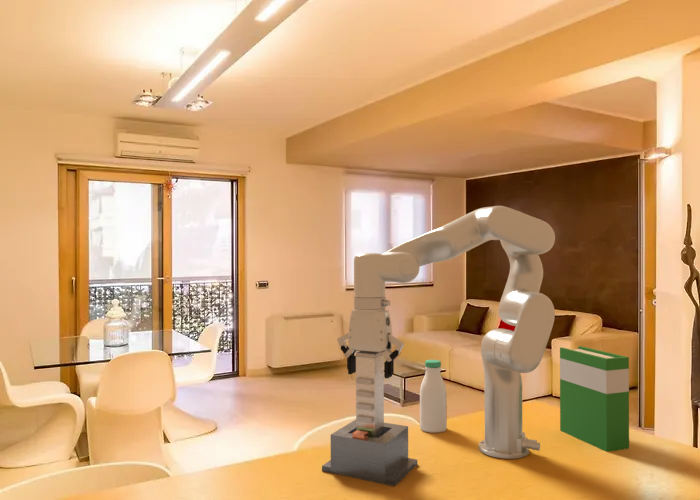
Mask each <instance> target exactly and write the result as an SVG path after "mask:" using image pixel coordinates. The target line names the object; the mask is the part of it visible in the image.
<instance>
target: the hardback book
mask: <svg viewBox="0 0 700 500" xmlns="http://www.w3.org/2000/svg"><path fill="white" fill-rule="evenodd" d="M559 416H560V417H559V420H560V421H559V424H560V425H559V431H560V432H562V433H564V434H566V435H569V436H571V437H573V438H575V439H578V440H580V441H582V442H584V443H586V444H588V445H591V446H593V447H595V448H597V449H599V450H600V451H601V450H602V451H604V452H606V453H607V452H609V453H610V452H615V451H621V450H628V449H630V357H628V356H624V355H621V354H620V355H619V354H617V353H611V352H608V351H603V350H599V349H594V348H591V347H587V346H580V345H579V346H577V348H576V349H571V348H566V347H559Z"/></svg>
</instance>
